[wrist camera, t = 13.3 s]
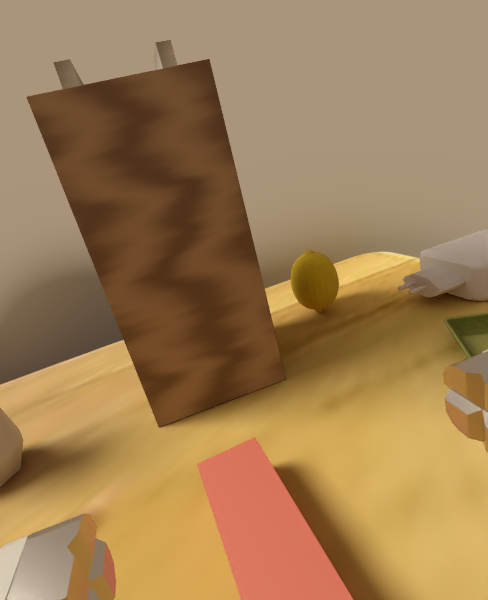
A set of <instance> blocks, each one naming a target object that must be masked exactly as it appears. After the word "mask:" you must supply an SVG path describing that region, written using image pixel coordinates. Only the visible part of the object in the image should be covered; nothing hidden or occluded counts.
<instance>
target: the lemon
mask: <svg viewBox="0 0 488 600" xmlns="http://www.w3.org/2000/svg"><path fill="white" fill-rule="evenodd" d="M291 285H292V290H293V293H294V295H295V297H296V299H297V300H298V302H299V303H300V304H302V305H303V306H304V307H306V308H309V309H314V310H315V311H317V312H322V311H323V310H324V309H325V307H327V306H329V305H330V304H331V303H332V302H333V301H334V300H335V298H336V296H337V293H338V287H339V281H338V275H337V272H336V269H335V267H334V265H333V263H332V262H331V260H330V259H329V258H328V257H327V256H325V255H323V254H321V253H318V252H313V251H312V250H307V251H306V252H305V253H304V254H303V255H302V256H300V257H299V258H298V259H297V260H296V261H295V263H294V265H293V267H292V272H291Z"/></svg>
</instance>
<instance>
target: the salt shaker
mask: <svg viewBox="0 0 488 600" xmlns="http://www.w3.org/2000/svg"><path fill="white" fill-rule="evenodd" d="M22 448H23V438H22V435H21V433H20V431H19V428H18V427H17V426H16V425H15V424H14V423H13V422H12V421H11V420H10V418H9V417H8V416H7V415H6V414H5V413H4V412H3V411H2V410H1V408H0V487H1V486H2V485H3V484H4V483H5V482H6V481H8V480H9V479H10V478H11V477H12V476H13V475H14V474H15V473H17V472H18V471H19V470H20V469H21V460H22Z"/></svg>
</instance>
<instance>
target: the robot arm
mask: <svg viewBox="0 0 488 600" xmlns="http://www.w3.org/2000/svg"><path fill="white" fill-rule="evenodd" d="M443 376H444V384H445V385H446V386H448V387H449V388H450V390H449V392H448V394H447V396H446V398H445V404H446V412H447V414H448V415H449V417H450V419H451V421H452V423H453V424H454V425H455V426H456V428H457V429H458V430H459V431H460V432H462V433H463V434H464V435H466V436H467V437H468V438H471V439H475V440H478V441H482V442H483V443H484V446H485V449H486V451H487V452H488V350H485V351H483V352H482V353H480V354H477V355H475V356H472V357H470V358H467V359H465V360H463V361H460V362H458V363H455V364H453V365H450V366H448V367H446V369H445V371H444V373H443ZM96 531H97V526H96V524H95V522H94V520H93V519H92V517H91V515H90V514H82V515H80V516H77V517H74V518H72V519H69V520H66V521H64V522H61V523H59V524H56V525H53V526H51V527H48V528H45V529H43V530H40V531H37V532H35V533H32V534H31V535H29V536H26V537H23V538H21V539H18V540H15V541H13V542H10V543H7V544H5V545H3V547H2V548H1V549H0V600H114V598H115V589H116V578H115V569H114V562H113V559H112V556H111V553H110V550H109V548H108V546H107V544H106V542H103V541H100V540H98V539H96Z"/></svg>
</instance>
